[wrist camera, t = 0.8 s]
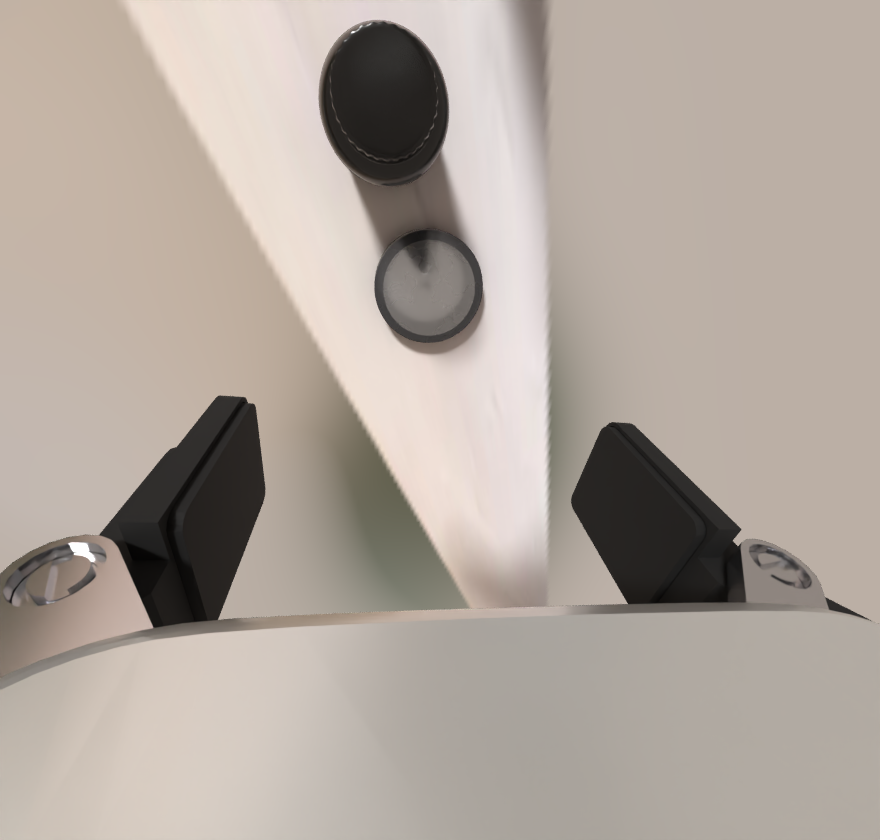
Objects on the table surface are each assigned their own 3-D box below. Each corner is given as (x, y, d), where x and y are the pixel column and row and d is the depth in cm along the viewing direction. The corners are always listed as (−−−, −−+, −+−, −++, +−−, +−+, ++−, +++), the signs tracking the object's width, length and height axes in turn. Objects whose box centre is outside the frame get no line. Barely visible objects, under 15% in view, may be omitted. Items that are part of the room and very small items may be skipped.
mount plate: (379, 219, 29) (379, 220, 28) (489, 238, 31) (494, 240, 30) (371, 331, 34) (370, 337, 32) (467, 342, 35) (471, 348, 34)
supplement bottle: (333, 60, 24) (297, -39, 14) (437, 76, 26) (472, -5, 15) (338, 184, 28) (311, 176, 18) (429, 194, 29) (454, 192, 19)
